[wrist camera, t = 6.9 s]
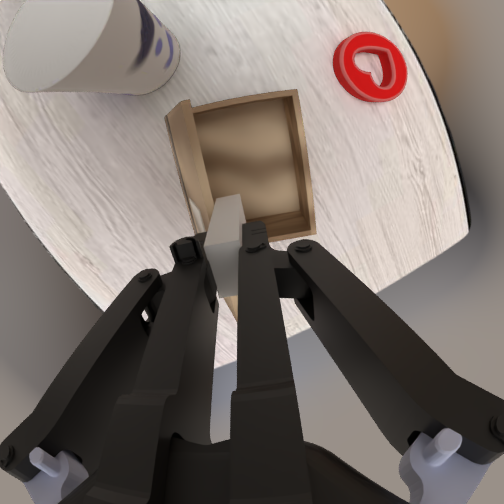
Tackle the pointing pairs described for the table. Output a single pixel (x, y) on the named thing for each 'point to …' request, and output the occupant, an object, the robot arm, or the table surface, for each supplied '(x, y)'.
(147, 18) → the container
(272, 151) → the wooden box
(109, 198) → the table surface
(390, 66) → the decorative ornament
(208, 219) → the lid
